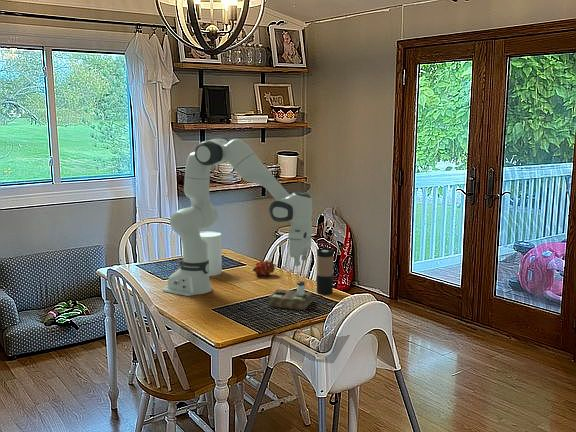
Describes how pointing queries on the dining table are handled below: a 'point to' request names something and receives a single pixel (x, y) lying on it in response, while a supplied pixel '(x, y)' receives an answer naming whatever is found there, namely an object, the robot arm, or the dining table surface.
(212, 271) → the canister
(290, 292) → the socket block
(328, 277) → the travel mug
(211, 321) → the dining table surface
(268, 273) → the dragon fruit
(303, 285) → the steel plug
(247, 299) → the dining table surface
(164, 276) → the dining table surface
